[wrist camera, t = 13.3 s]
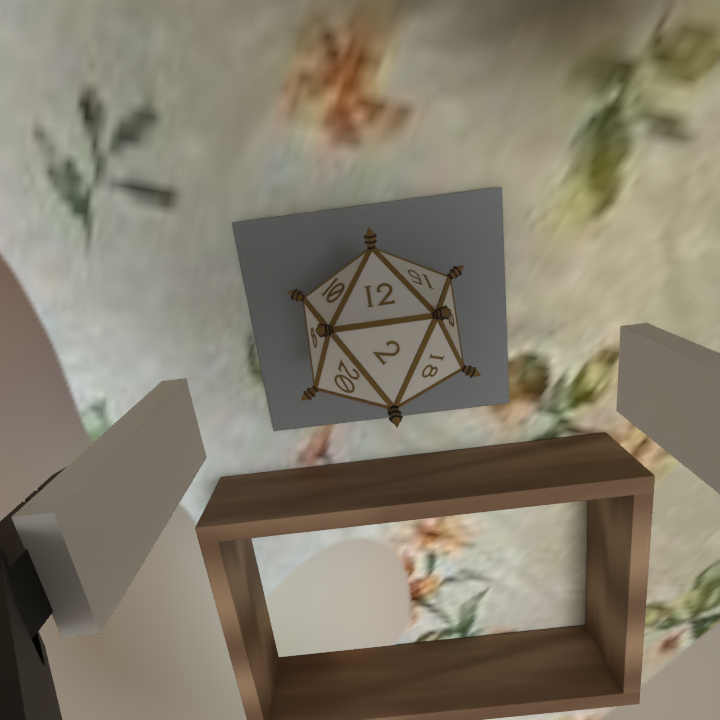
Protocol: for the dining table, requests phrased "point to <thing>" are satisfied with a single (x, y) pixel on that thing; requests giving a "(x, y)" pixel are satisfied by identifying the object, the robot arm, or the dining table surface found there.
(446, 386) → the pad
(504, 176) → the dining table surface
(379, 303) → the game die
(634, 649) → the rectangular frame
